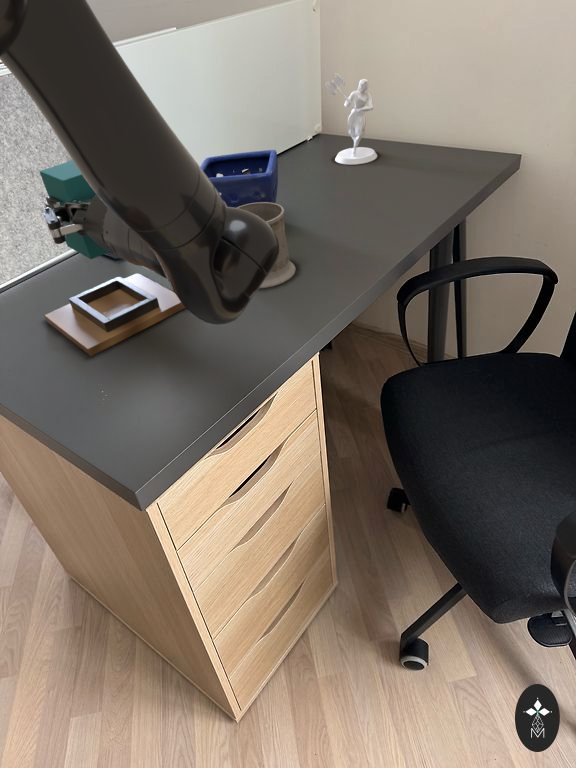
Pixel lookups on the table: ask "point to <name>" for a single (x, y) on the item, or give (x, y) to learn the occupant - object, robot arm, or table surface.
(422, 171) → the table surface
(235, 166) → the flower pot
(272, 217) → the mug
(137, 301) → the cork base pad
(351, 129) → the figurine
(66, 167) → the foam pad
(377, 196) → the table surface
